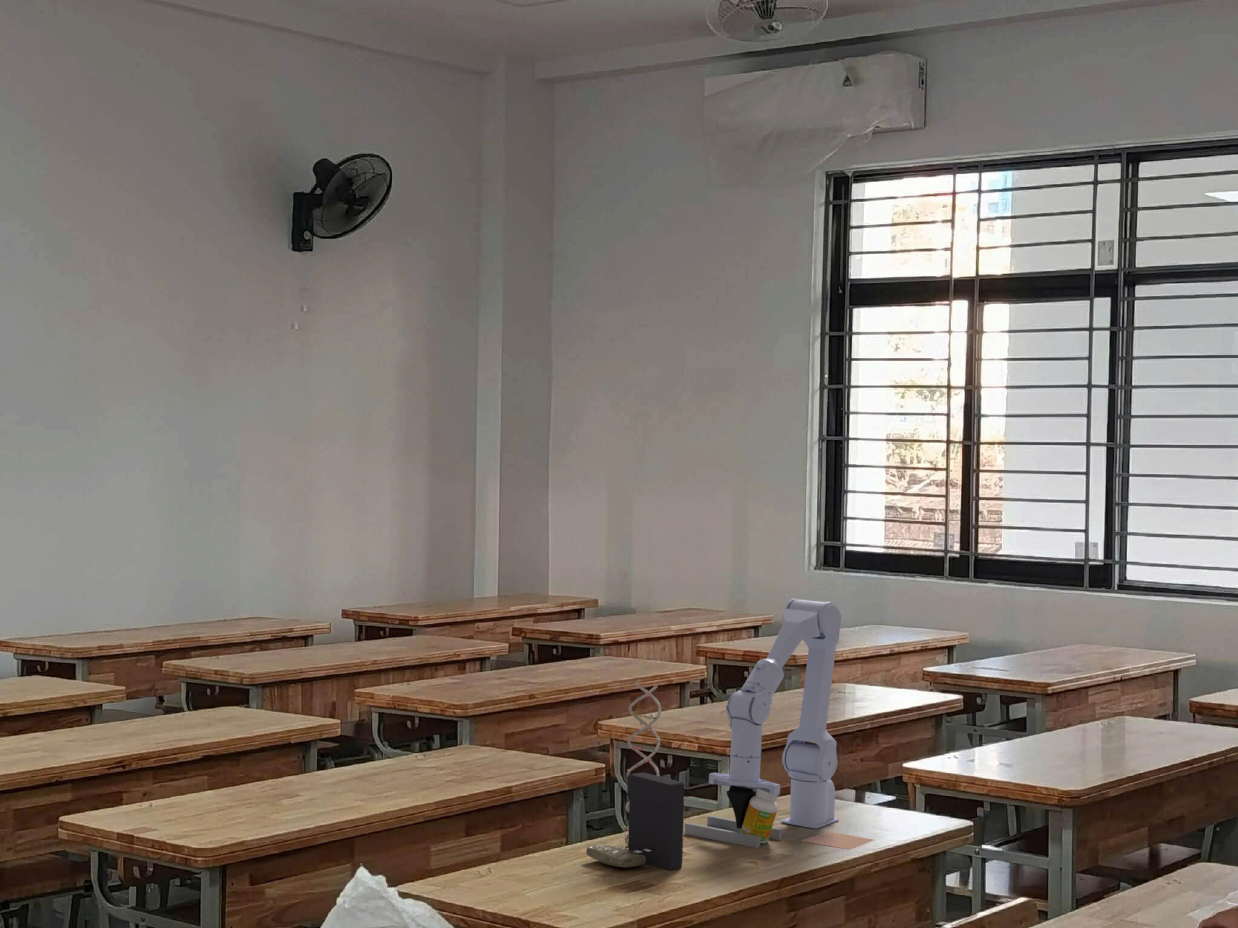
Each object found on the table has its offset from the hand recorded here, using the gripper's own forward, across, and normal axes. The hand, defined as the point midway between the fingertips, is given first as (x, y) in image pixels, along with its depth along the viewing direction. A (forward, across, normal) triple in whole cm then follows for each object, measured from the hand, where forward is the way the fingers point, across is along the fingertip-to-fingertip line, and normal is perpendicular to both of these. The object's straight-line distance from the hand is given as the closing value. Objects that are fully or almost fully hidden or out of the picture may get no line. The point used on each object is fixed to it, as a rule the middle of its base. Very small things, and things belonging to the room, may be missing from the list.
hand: (741, 827), depth 292 cm
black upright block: (+3, -2, -25) cm, 26 cm away
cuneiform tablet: (+1, 0, -32) cm, 32 cm away
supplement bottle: (+2, +2, 0) cm, 3 cm away
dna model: (+3, -10, -18) cm, 21 cm away
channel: (+2, -2, +1) cm, 3 cm away
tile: (+2, +15, +11) cm, 18 cm away
